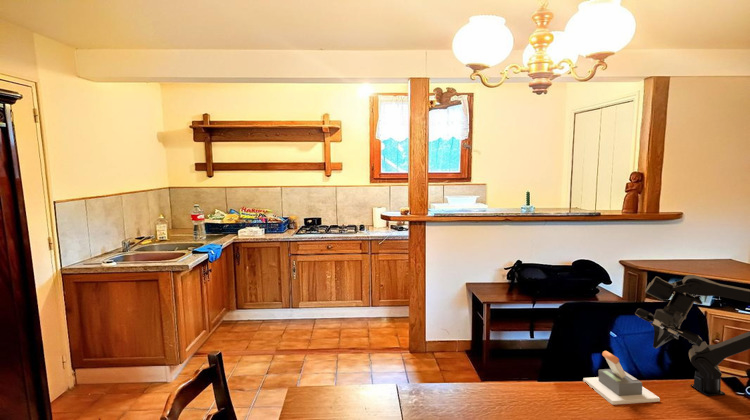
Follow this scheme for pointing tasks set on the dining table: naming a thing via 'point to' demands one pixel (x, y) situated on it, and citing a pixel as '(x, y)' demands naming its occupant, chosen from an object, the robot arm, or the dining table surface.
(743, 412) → the dining table surface
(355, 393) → the dining table surface
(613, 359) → the breaker lever
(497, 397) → the dining table surface
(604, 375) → the box
